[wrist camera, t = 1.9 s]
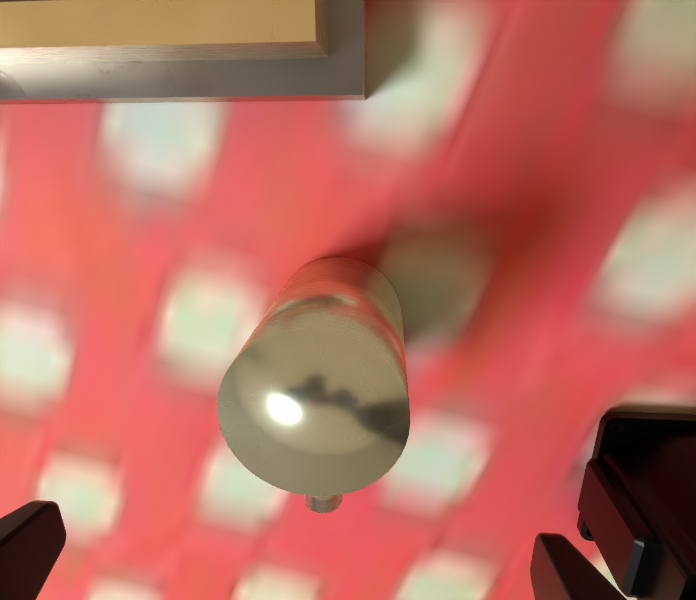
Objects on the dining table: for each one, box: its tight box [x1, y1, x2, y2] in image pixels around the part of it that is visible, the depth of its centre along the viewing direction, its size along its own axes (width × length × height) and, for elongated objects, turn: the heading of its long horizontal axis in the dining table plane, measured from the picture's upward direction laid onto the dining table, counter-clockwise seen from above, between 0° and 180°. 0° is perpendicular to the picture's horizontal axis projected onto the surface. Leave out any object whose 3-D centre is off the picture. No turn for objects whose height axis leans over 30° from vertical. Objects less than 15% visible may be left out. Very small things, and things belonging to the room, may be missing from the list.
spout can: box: [217, 257, 410, 513], centre depth 15 cm, size 5×6×7 cm
